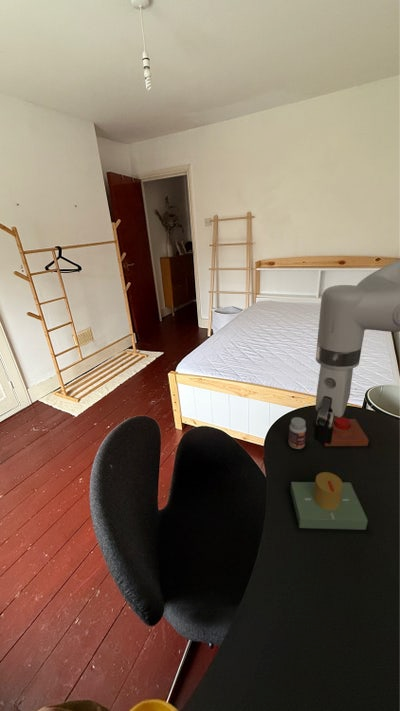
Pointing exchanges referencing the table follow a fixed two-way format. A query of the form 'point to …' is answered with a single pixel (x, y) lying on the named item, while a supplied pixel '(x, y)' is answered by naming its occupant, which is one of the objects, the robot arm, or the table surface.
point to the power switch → (348, 435)
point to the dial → (328, 491)
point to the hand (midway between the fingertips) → (327, 427)
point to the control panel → (317, 517)
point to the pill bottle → (297, 433)
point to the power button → (342, 423)
